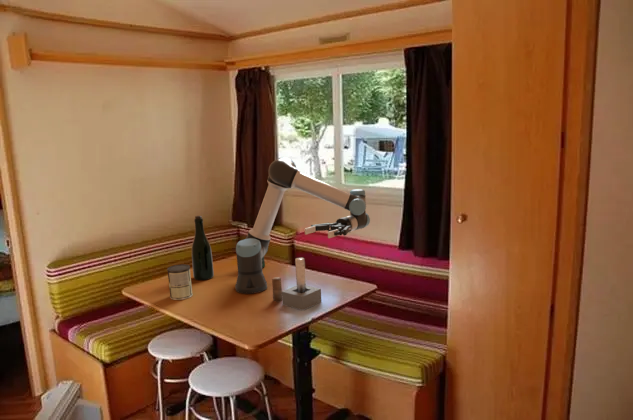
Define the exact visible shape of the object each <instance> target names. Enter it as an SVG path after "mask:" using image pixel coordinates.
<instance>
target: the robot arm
mask: <svg viewBox="0 0 633 420" xmlns="http://www.w3.org/2000/svg"><path fill="white" fill-rule="evenodd" d="M267 184H268V185H267V189H266V191H265V194H264V197H263V200H262V203H261V206H260V208H259V211H258V214H257V217H256V219H255V221H254V225H253V227H252V229H249V230H248V232H247V235H246V236H247V238H246V237H245V239H241V240H239V241H238V242H236V247H235V253H236V262H237V263H236V264H237V277H236V283H235V285H234V286H235V291H236V292H237V293H239V294H245V295H246V294H247V295H248V294H249V295H250V294H257V293H261V292H264V291H265V290H267V288H268V283H267V280H266V278H265V275H264V273H263V268H262V258H263V256H264V257H265V255H266V254H267V253H268V251H269V245H270V241H271V239H272V238H271V235H270V233H271V231H272V227H273V226H274V222H275V219H276V217H277V214H278V211H279V209H280V206H281V203H282V200H283V197H284V195H285V193H286V191H287V190H289V189H291V190H292V189H297V190H299V191H302V193H303V192H304V193H306V194H309V195H311V196H313V197H316V198H318V199H321V200H323V201H324V202H327V203H330V204H332V205H334V206H337V207H339V208H342V209H344V210H346V211H348V212H350V215H347V216H344V217H340V218H338V219H336V221H335V222H332V223H330V222H326V223H318V224H317V223H316V224H311V225H310V226H309V227H305V228H304V235H310V234H312V233H314V234H315V233H316V232H320V231H321V232H323V231H327V238H328V239H331V238H334V237H335V238H336V237H337V236H343V237H344V236H347V235H348V234H349V233H352V232H355V231H356V230H362V229H364V228H367V227H368V226H369V225H370V223H371V218H370V215H369V214H368V213H367V212H366V209H367V201H366V190H364V189H362V188H357V189H356V188H355V189H351V190H350V191H349V192H347V191H345V190H342V189H340V188H337V187H335V186H334V185H331V184H329V183H326V182H323V181H321V180H319V179H316V178H314V177H312V176H310V175H307V174H306V173H302V172H301V171H300V169H299V168H297V165H296V163H295V162H294V161H293V160H292V159H291V158H288V157H284V156H281V157H278V158H277V159H275V160H273V161H272V162H271V163H270V164H269V167H268V176H267Z"/></svg>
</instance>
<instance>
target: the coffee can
mask: <svg viewBox="0 0 633 420" xmlns="http://www.w3.org/2000/svg"><path fill="white" fill-rule="evenodd" d="M166 271H167V277H168V278H167V279H168V287H169V288H168V289H169V298H170V299H171V300H173V301H181V300H182V301H183V300H187V299H190V298H192V297H193V295H194V294H193V286H192V279H191V278H192V277H191V266H190V265H189V264H186V263H185V264H182V263H181V264H176V265H175V264H174V265H171V266H169V267H167V268H166Z"/></svg>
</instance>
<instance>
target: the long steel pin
mask: <svg viewBox="0 0 633 420" xmlns="http://www.w3.org/2000/svg"><path fill="white" fill-rule="evenodd" d="M305 259H306V258H304V257H296V258H295V261H294V263H295V279H296V281H295V282H296V286H297V292H298V293H304V292H306V285H307V280H306V261H305Z"/></svg>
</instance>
